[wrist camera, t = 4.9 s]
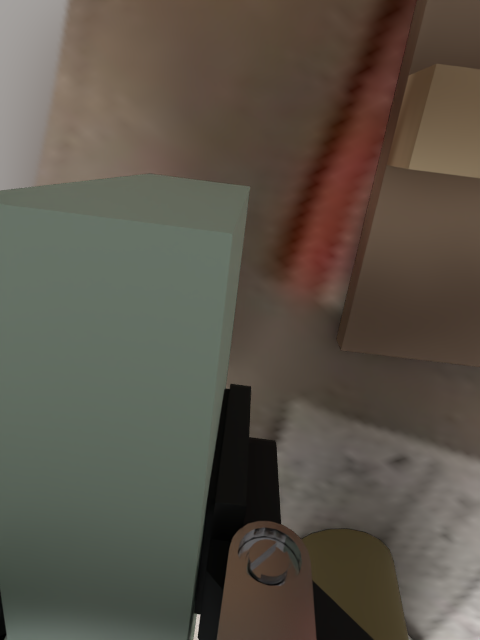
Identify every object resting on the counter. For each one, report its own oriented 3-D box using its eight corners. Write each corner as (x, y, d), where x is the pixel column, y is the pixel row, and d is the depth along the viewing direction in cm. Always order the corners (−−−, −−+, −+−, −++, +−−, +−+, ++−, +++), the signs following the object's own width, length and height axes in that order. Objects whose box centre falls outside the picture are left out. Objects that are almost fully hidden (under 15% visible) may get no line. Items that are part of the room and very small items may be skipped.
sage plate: (206, 540, 14) (163, 854, 8) (136, 531, 14) (35, 838, 8) (250, 186, 10) (233, 233, 4) (149, 173, 10) (-56, 197, 4)
